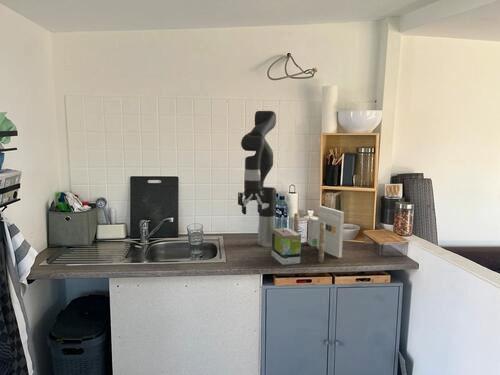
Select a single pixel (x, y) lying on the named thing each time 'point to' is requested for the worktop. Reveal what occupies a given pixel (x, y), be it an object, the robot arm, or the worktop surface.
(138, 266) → the worktop surface
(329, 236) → the breaker panel
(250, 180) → the robot arm
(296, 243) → the tea box
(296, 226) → the left post
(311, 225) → the skincare box
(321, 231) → the right post
